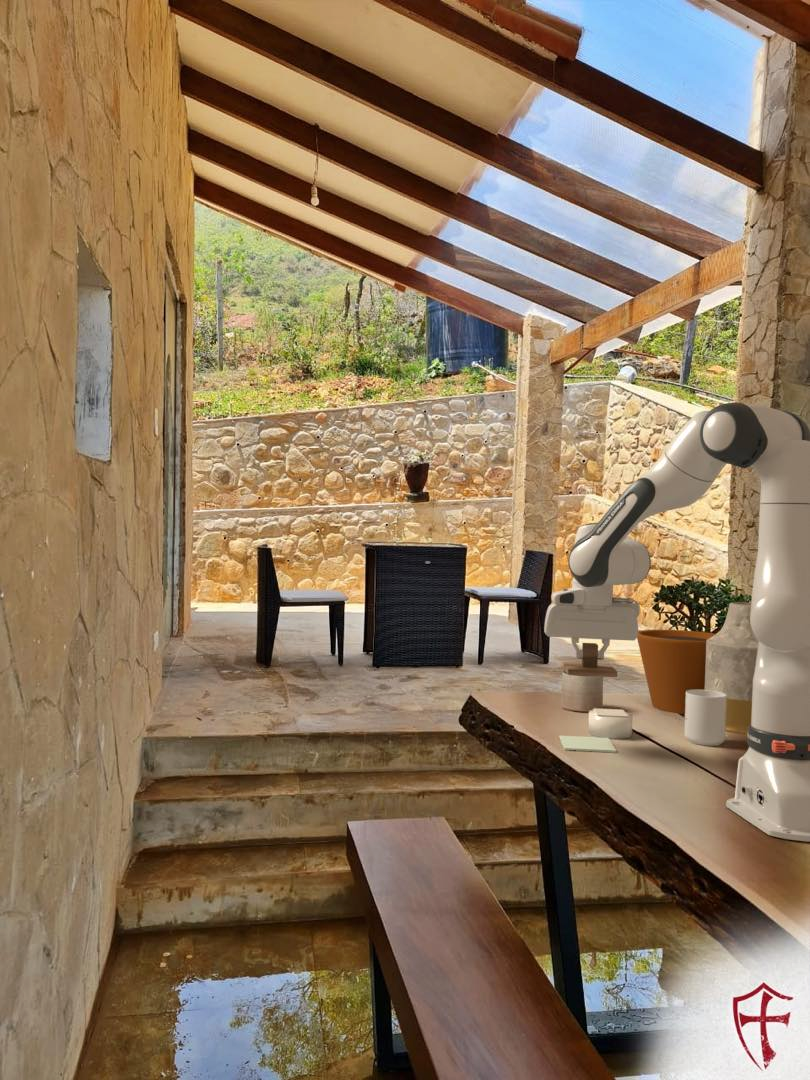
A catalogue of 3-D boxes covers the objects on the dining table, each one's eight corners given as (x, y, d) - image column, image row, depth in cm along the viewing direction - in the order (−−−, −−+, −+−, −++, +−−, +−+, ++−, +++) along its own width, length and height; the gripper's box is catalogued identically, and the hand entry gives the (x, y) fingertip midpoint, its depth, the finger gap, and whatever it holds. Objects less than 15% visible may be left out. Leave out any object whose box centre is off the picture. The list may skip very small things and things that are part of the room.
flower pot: (616, 701, 237) (618, 630, 237) (684, 697, 246) (686, 628, 246) (674, 721, 215) (676, 642, 215) (746, 715, 224) (749, 639, 224)
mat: (616, 752, 182) (616, 750, 182) (564, 750, 183) (564, 747, 183) (607, 740, 193) (608, 737, 193) (559, 737, 194) (559, 735, 194)
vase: (744, 715, 224) (748, 600, 223) (799, 732, 207) (804, 607, 206) (687, 719, 217) (692, 600, 217) (740, 737, 200) (745, 607, 200)
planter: (552, 705, 229) (553, 670, 229) (585, 703, 234) (586, 668, 234) (577, 714, 220) (578, 677, 219) (611, 711, 224) (612, 675, 224)
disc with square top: (635, 739, 194) (636, 718, 194) (591, 737, 195) (592, 715, 195) (627, 729, 204) (628, 708, 204) (585, 727, 205) (586, 706, 205)
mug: (726, 748, 189) (728, 698, 189) (685, 744, 191) (686, 695, 191) (721, 736, 201) (723, 689, 201) (682, 732, 203) (683, 686, 203)
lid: (617, 677, 182) (618, 648, 182) (568, 674, 183) (569, 646, 183) (609, 669, 193) (610, 641, 193) (562, 666, 194) (563, 639, 193)
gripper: (637, 597, 190) (634, 658, 190) (544, 593, 191) (542, 654, 192) (643, 599, 184) (640, 663, 184) (547, 595, 185) (544, 659, 185)
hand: (589, 658), depth 188 cm, fingers closed on lid, 3 cm apart
